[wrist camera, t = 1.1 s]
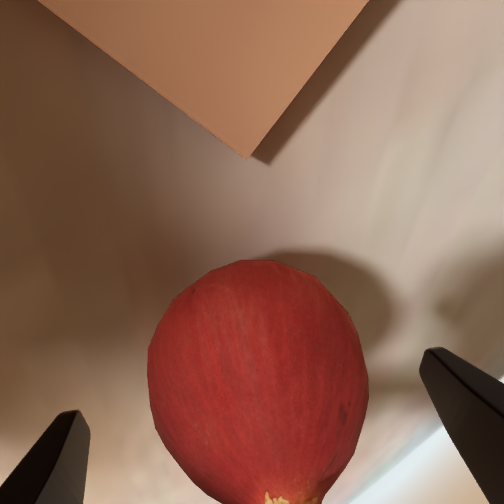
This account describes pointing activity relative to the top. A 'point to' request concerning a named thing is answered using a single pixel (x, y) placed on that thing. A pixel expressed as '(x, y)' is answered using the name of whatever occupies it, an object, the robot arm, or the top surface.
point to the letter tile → (217, 53)
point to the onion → (258, 384)
